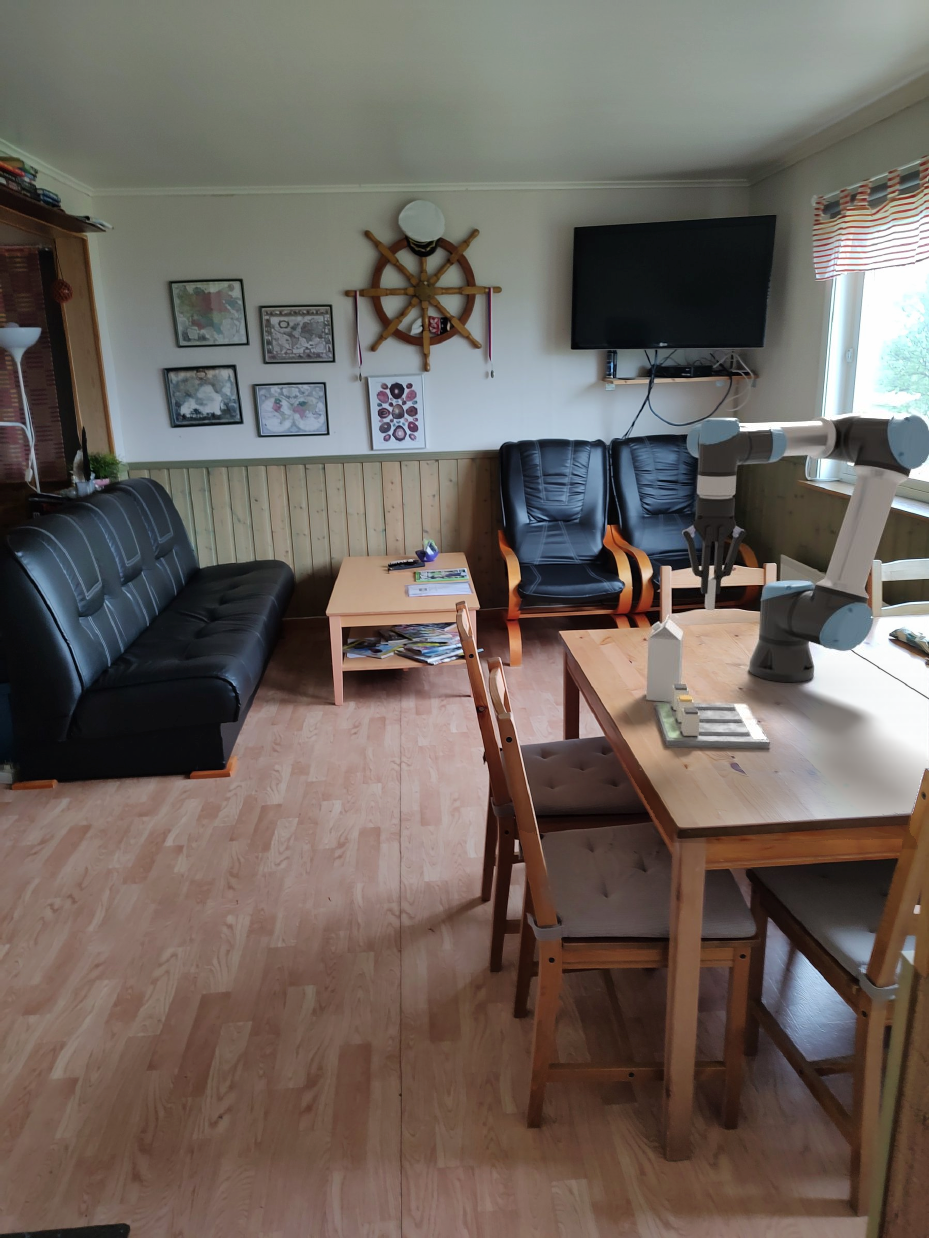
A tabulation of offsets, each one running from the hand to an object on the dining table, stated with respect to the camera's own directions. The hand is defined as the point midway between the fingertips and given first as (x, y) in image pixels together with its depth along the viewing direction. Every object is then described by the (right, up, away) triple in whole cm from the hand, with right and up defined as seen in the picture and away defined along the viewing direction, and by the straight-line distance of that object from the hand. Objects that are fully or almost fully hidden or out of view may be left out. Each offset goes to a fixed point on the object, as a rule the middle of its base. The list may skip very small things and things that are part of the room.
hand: (709, 608), depth 179 cm
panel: (0, -25, +1) cm, 25 cm away
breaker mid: (-5, -23, +1) cm, 24 cm away
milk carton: (-5, -21, +19) cm, 28 cm away
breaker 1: (-4, -22, +8) cm, 23 cm away
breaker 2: (-6, -25, -6) cm, 27 cm away
